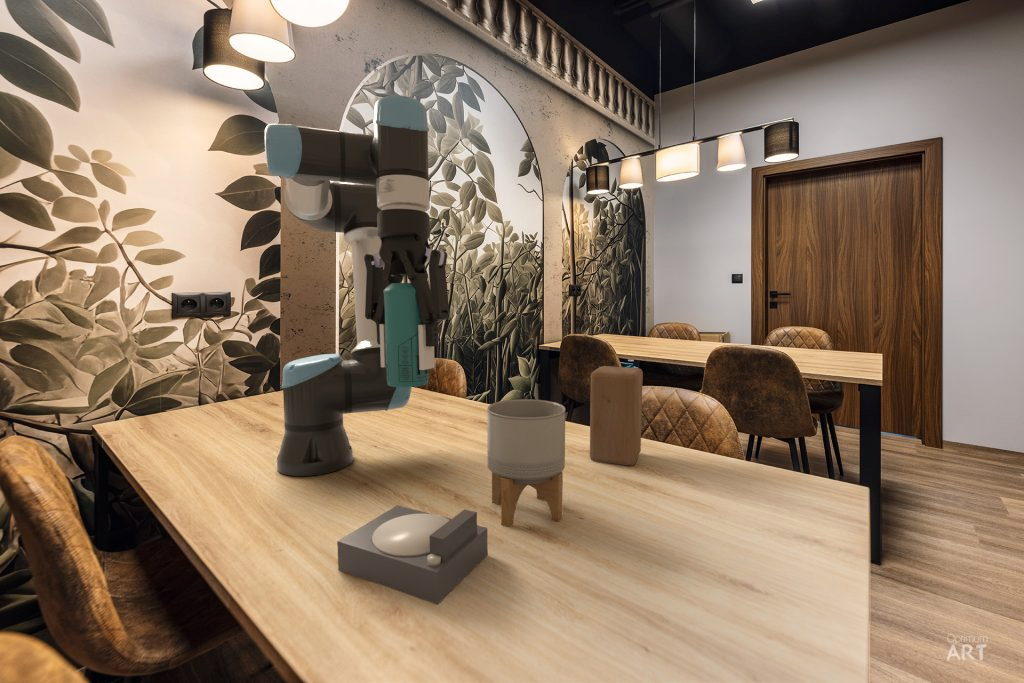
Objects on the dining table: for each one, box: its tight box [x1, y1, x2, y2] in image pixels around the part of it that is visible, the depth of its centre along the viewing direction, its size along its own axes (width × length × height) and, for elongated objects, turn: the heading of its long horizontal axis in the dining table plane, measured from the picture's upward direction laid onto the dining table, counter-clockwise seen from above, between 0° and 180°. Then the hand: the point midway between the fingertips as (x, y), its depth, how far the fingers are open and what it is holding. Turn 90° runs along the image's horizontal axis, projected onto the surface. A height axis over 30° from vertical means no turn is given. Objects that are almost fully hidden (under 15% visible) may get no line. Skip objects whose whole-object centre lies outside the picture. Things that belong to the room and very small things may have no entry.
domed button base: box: [336, 505, 489, 605], centre depth 65 cm, size 16×12×7 cm
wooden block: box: [589, 365, 644, 466], centre depth 106 cm, size 10×10×20 cm
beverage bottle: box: [384, 260, 430, 388], centre depth 71 cm, size 6×7×20 cm
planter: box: [486, 398, 566, 528], centre depth 80 cm, size 13×13×18 cm
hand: (407, 367), depth 71 cm, fingers closed on beverage bottle, 6 cm apart
